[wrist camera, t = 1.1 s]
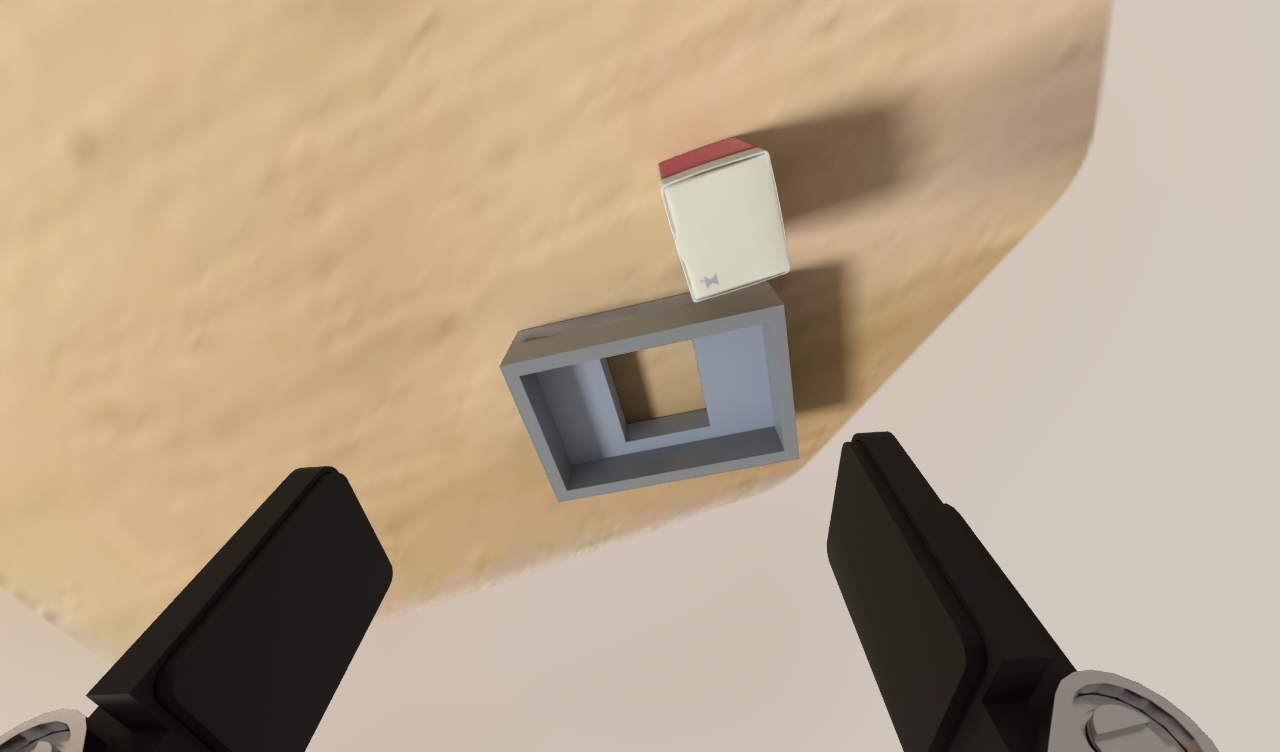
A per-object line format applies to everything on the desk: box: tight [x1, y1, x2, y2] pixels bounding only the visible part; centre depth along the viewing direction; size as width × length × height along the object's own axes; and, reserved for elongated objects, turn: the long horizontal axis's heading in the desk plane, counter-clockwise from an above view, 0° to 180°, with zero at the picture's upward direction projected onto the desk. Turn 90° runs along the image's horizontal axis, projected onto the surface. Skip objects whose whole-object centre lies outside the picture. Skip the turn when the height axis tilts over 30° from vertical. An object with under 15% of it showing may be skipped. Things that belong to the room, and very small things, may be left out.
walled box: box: [499, 280, 799, 502], centre depth 29 cm, size 15×10×4 cm, turn 103°
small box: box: [657, 137, 790, 302], centre depth 22 cm, size 5×4×8 cm
